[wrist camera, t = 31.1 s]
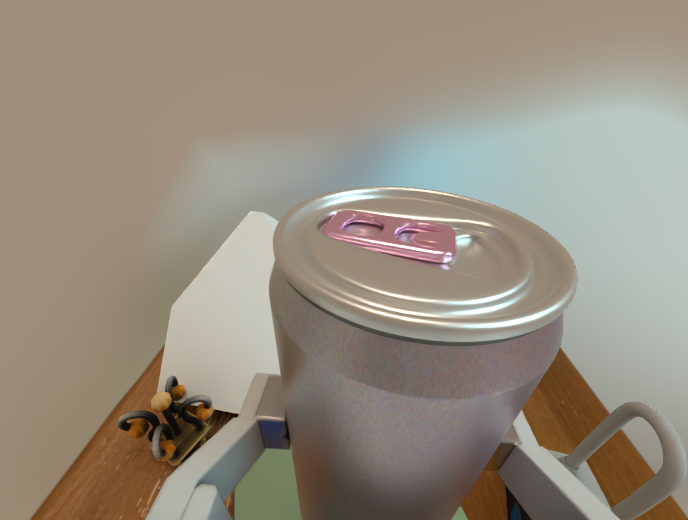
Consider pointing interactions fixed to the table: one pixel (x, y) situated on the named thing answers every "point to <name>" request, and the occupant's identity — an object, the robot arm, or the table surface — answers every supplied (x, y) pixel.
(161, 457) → the black and orange candelabra
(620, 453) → the table surface
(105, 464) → the table surface
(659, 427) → the padlock
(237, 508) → the cover
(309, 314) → the beverage can
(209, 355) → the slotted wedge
